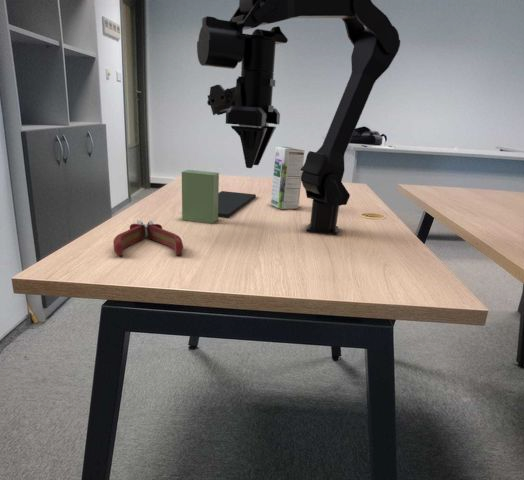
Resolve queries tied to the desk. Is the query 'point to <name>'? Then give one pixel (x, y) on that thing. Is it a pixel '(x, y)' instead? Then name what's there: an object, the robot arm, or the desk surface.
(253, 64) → the robot arm
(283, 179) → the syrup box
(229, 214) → the charcoal mat
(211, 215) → the sage block
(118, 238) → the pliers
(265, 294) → the desk surface
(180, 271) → the desk surface
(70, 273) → the desk surface
